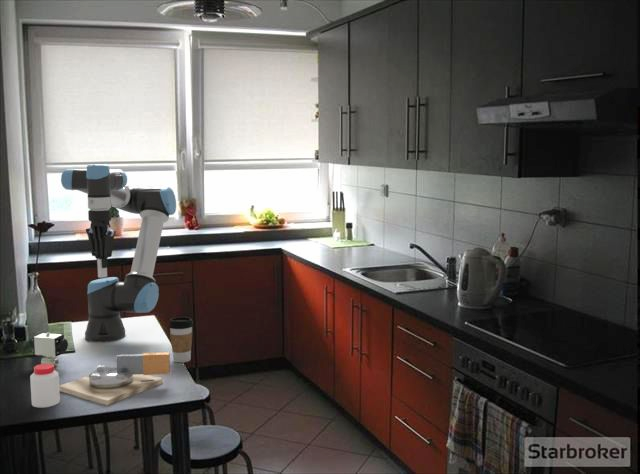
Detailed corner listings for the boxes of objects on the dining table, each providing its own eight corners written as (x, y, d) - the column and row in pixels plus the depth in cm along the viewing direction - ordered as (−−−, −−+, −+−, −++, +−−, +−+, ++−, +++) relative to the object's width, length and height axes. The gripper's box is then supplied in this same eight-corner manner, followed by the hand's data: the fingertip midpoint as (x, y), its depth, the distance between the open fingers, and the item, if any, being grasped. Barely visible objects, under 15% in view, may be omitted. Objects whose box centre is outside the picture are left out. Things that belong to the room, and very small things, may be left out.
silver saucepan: (84, 389, 199) (83, 362, 198) (94, 374, 212) (93, 349, 211) (167, 386, 202) (166, 360, 201) (172, 372, 215) (171, 347, 214)
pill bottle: (59, 406, 191) (57, 369, 190) (30, 409, 189) (27, 371, 188) (61, 396, 199) (59, 361, 197) (33, 399, 197) (31, 363, 195)
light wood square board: (115, 370, 222) (115, 365, 222) (162, 382, 210) (162, 377, 210) (58, 390, 203) (58, 385, 203) (107, 405, 192) (106, 399, 192)
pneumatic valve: (61, 370, 222) (59, 335, 220) (30, 367, 224) (28, 333, 223) (70, 364, 227) (69, 331, 226) (40, 362, 230) (38, 329, 228)
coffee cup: (164, 362, 230) (163, 320, 228) (178, 355, 238) (177, 314, 236) (185, 365, 227) (184, 322, 225) (198, 357, 235) (197, 316, 233)
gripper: (78, 209, 228) (81, 276, 231) (103, 211, 221) (106, 280, 224) (95, 207, 234) (98, 273, 237) (121, 209, 227) (123, 277, 230)
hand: (102, 276), depth 231 cm, fingers closed
